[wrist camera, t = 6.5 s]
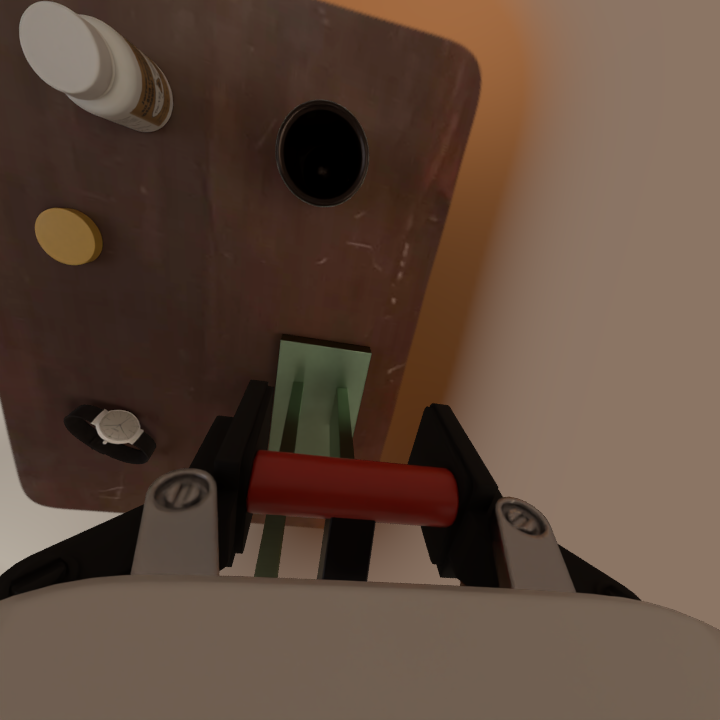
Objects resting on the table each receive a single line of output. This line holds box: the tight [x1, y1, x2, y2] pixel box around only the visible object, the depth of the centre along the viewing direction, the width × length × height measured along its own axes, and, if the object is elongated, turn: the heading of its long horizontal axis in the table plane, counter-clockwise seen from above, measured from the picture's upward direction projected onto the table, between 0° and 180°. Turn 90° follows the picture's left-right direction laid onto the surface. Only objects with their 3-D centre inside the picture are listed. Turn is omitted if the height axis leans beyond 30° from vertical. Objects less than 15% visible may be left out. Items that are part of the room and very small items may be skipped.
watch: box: [64, 405, 156, 464], centre depth 32 cm, size 8×5×4 cm, turn 48°
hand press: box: [254, 334, 372, 578], centre depth 20 cm, size 12×8×30 cm, turn 169°
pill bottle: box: [19, 1, 173, 132], centre depth 20 cm, size 4×4×8 cm
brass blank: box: [35, 208, 103, 265], centre depth 26 cm, size 4×4×1 cm
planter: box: [276, 100, 369, 207], centre depth 21 cm, size 4×4×10 cm
